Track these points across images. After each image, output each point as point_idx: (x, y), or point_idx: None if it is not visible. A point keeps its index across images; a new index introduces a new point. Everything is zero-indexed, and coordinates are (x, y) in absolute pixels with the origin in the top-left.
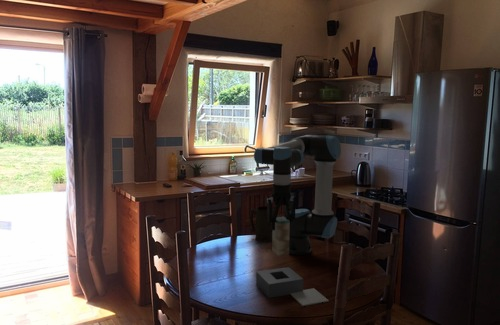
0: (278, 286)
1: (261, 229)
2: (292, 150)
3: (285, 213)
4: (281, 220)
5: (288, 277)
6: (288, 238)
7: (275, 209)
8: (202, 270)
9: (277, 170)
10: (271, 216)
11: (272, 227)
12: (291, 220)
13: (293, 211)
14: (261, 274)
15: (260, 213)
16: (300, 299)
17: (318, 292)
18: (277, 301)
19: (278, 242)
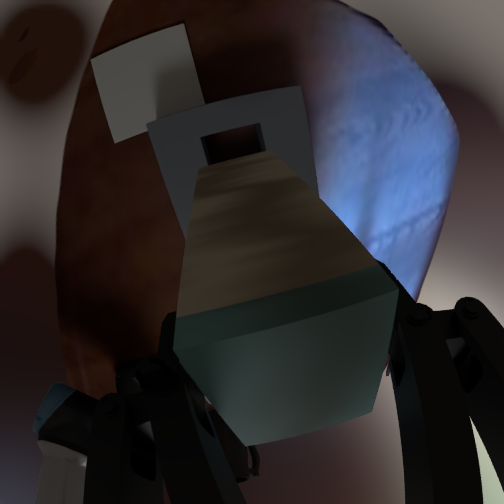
0: (256, 92)
1: (234, 435)
2: None
3: (234, 480)
4: (330, 346)
5: (203, 147)
6: (200, 204)
7: (472, 483)
8: (408, 283)
9: None
10: (493, 357)
11: (391, 275)
12: (143, 373)
13: (108, 502)
14: (308, 178)
15: (241, 469)
16: (180, 57)
17: (106, 111)
18: (262, 59)
19: (294, 174)
